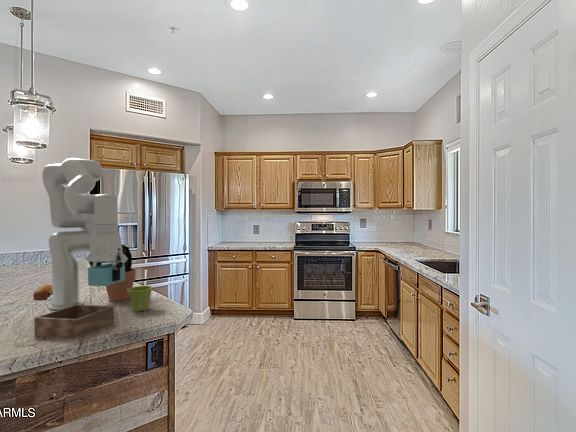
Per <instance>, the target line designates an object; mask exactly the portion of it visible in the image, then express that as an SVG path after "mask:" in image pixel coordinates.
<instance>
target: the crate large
mask: <svg viewBox="0 0 576 432" xmlns="http://www.w3.org/2000/svg"><path fill="white" fill-rule="evenodd" d="M114 315H115V311H114V306H112V305H93V304H91V305H90V304H83V305H73V306H70V307H67V308H64V309H59V310H53V311H51V312H48V313H45V314H42V315H39V316H35V317H34V319H33V321H34V322H33V325H34V336H35V337H36V336H37V337H49V338H50V337H52V338H61V337H62V338H64V339H65V338H66V339H75V338H76V339H79V338H81V337H84V336H86V335H88V334H90V332H91V333H92V332H96V331H97V330H100V329H102V328H104V327H106V325H107V326H108V325H112V324H113V322H115V321H114V320H115V318H114V317H115V316H114ZM101 327H102V328H101ZM99 328H100V329H99Z"/></svg>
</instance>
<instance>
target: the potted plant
mask: <svg viewBox="0 0 576 432" xmlns="http://www.w3.org/2000/svg"><path fill="white" fill-rule="evenodd" d="M122 253H123V254H124V255H125V256H126V257H127V258H128V260H127V261H126V262H125V263H124V264H125V281H121V282H118V283H115V284H111V285H108V286H105V288H106V293H107V298H108V301H110V302H113V303H115V302H125V301H128V300H130V295H129V293H128V291H127V289H129V288H132V287H134V282H135V280H136V278H137V277H136V274H137V272H136V271H137V269H136V268H133V267H132V265H133V259H132V258H133V256H132V253H131V251H130V247H129V246H126V245H124V244H122ZM120 261H121V260H120ZM124 300H125V301H124Z"/></svg>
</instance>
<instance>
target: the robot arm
mask: <svg viewBox="0 0 576 432" xmlns="http://www.w3.org/2000/svg"><path fill="white" fill-rule="evenodd" d="M103 171H104V170H103V167H102V164H100V162H99V161H97V160H94V159H85V158H79V157H78V158H77V157H70V158H65V160H63V161H62V162H61V163H53V164H51V163H50V164H47V165H45V166H44V168H43V169H42V173H41V175H42V177H41V178H42V182H43V186H44V189H45V190H46V193H47V196H48V199H49V211H50V212H49V213H50V221H51V225H52V226H53V227H54V228H55V229H61V230H62V229H63V230H65V229H66V230H67V229H80V230H73V231H72V230H70V231H69V230H68V231H58V232H55V233H53V234H51V235H50V236H49V238H48V246H49V247H48V248H49V251H50V252H49V253H50V259H51V276H52V277H51V279H52V280H51V281H52V283H51V285H52V288H53V296H50V297H49V298H47V299H46V301H47V302H50V304H48V308H47V309H49V310H53V311H57V310H60V309H64V308H67V307H70V306H73V305H85V304H84V300H82V299H80V269H79V267H80V266H79V262H78V260H77V259H76V258H75V257H74V256H73V254H80V253H88V255H87V256H86V257H85V259H86V261H87V262H88V264H89V265H90V266H91V267H95V266H100V265H103V263H106V264H112V266H113V268H114V270H112V280H113V281H118V280H120V269H121V268H122V266H123V265H124V263H125V262H126V261H127V260H128V258H127V257H126V256H125V255H124V254H123V253H122V245H123V244H122V238H121V233H120V232H119V205H118V203H119V201H118V196H117V195H115V194H112V193H111V194H109V193H108V194H107V193H101V194H100V193H98V194H96V193H95V194H94V193H93V194H89V193H90V192H92V190H93V189H94V188H95V186H96V182H98V181H100V179H102V177H103V174H104V172H103ZM65 185H66V186H65ZM120 260H121V261H120ZM116 264H117V265H116Z"/></svg>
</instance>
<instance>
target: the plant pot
mask: <svg viewBox="0 0 576 432" xmlns="http://www.w3.org/2000/svg"><path fill="white" fill-rule="evenodd" d="M152 289H153V286H152V285H137V286H133V287H132V288H129V289H127V291H128V293H129V295H130V299H129V300H130V304H131V309H132V311H133V312H137V313H139V312H144V311H147V310H149V309H150V303H151V302H150V301H151V294H152Z"/></svg>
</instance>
